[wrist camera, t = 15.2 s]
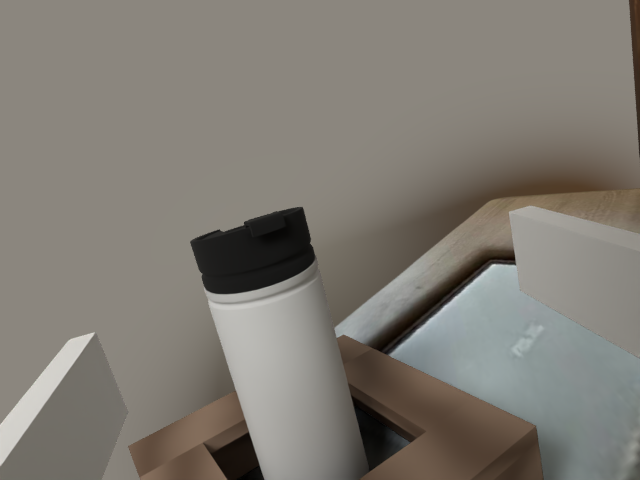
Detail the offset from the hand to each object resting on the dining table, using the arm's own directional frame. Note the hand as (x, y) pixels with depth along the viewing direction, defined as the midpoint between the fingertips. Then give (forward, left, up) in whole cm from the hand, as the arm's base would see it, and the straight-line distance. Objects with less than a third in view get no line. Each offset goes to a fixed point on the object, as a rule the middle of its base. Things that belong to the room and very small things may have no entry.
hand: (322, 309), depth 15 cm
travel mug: (-3, -11, -18) cm, 22 cm away
